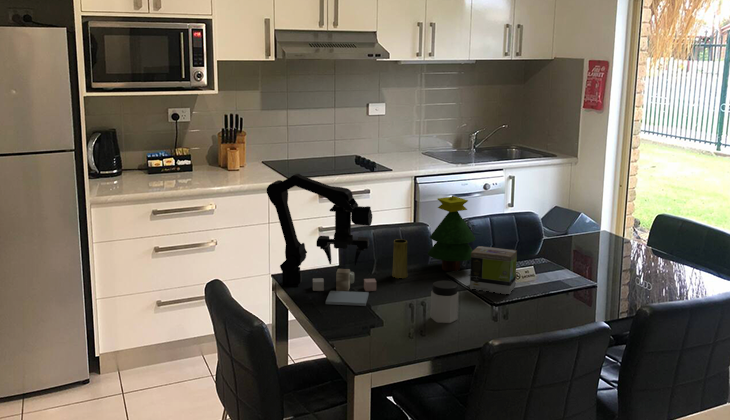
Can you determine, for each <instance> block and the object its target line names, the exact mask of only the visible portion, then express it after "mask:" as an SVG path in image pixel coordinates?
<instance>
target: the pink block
mask: <svg viewBox="0 0 730 420" xmlns="http://www.w3.org/2000/svg"><path fill="white" fill-rule="evenodd" d="M363 289H364V292H375V291H376V292H377V280H376V278H363Z"/></svg>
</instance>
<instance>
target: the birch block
mask: <svg viewBox="0 0 730 420" xmlns="http://www.w3.org/2000/svg"><path fill="white" fill-rule="evenodd" d="M350 272H351V269H350V268H337V271H336V273H335V275H336V276H335V277H336V278H335V279H336V281H335V282H336V283H335V287H336V288H335V289H336V290H335V291H348V292H350V288H351V284H350Z"/></svg>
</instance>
